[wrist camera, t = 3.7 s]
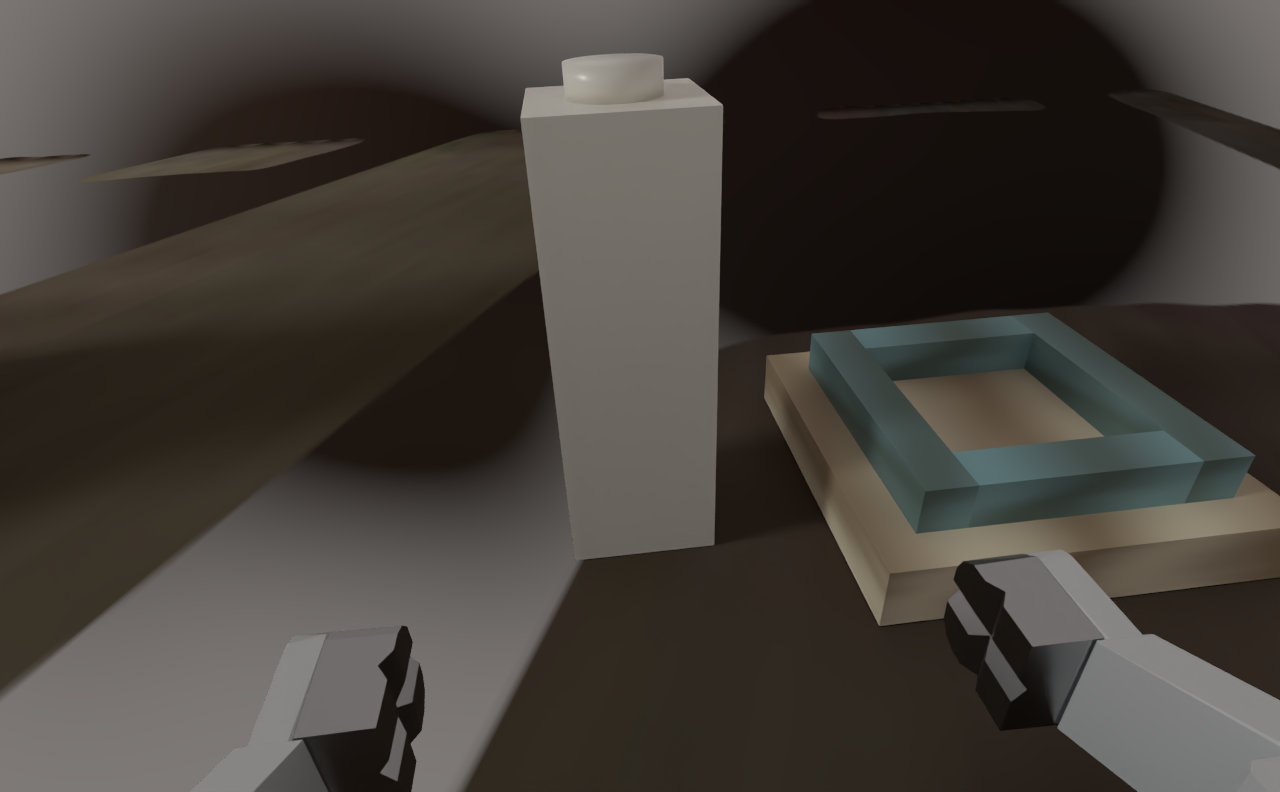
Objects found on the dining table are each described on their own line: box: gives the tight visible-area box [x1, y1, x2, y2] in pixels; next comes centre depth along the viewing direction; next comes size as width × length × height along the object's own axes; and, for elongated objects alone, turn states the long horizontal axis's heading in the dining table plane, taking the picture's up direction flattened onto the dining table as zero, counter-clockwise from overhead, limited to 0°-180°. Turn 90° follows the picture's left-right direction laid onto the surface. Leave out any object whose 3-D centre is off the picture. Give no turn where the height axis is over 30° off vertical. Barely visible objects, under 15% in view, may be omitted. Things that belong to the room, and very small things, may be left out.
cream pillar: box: [520, 53, 723, 561], centre depth 20 cm, size 4×4×14 cm
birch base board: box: [764, 313, 1280, 626], centre depth 24 cm, size 12×12×4 cm
